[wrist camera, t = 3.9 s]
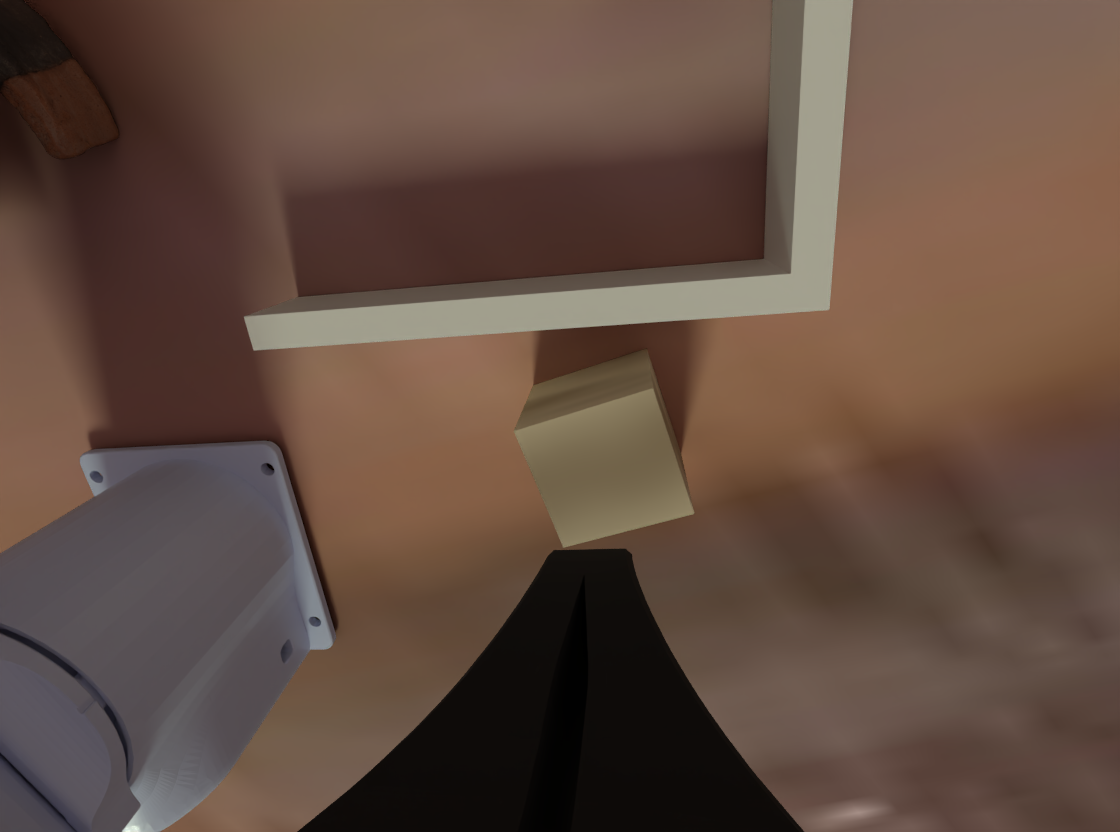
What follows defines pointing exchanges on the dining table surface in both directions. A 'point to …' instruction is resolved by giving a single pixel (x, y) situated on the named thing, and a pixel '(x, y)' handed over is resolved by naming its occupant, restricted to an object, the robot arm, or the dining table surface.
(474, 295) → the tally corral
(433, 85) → the dining table surface
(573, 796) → the robot arm
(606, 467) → the birch block
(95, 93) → the pottery mug
